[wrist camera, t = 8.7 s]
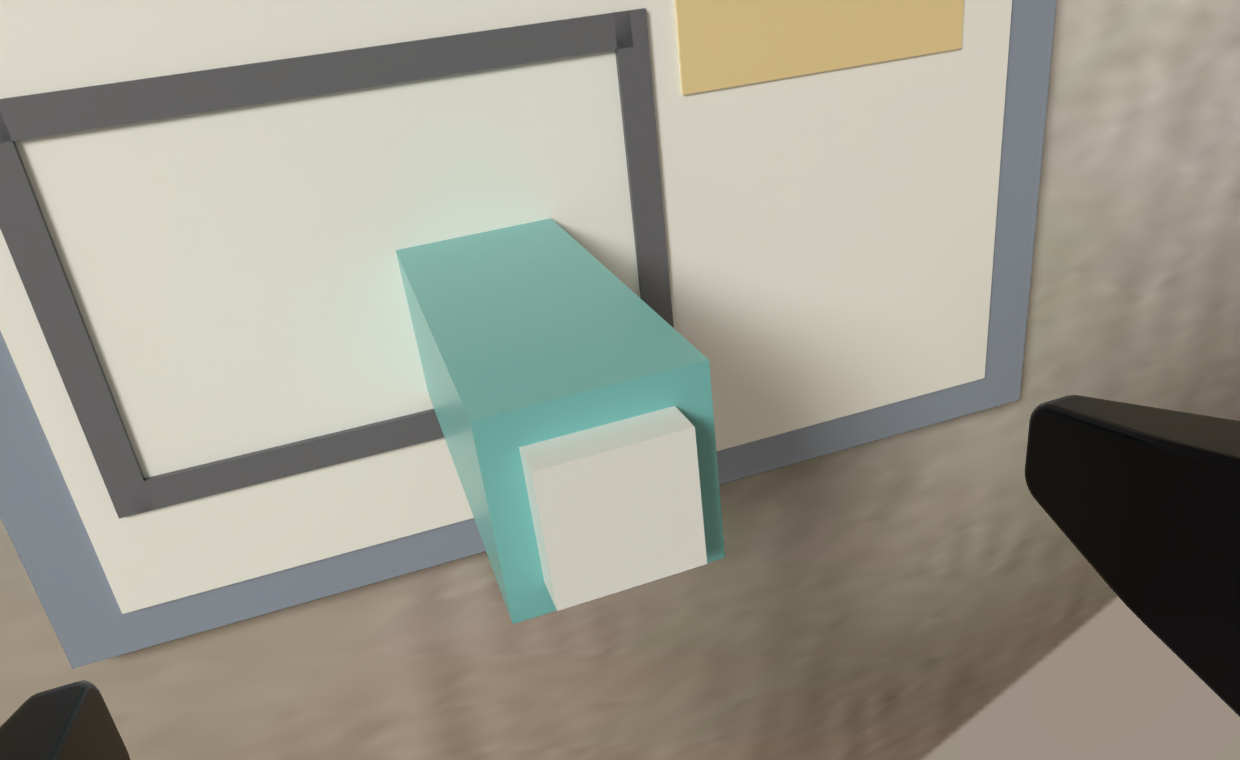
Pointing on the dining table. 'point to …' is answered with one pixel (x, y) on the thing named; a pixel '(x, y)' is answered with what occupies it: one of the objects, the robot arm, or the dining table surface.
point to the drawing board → (454, 207)
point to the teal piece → (565, 416)
